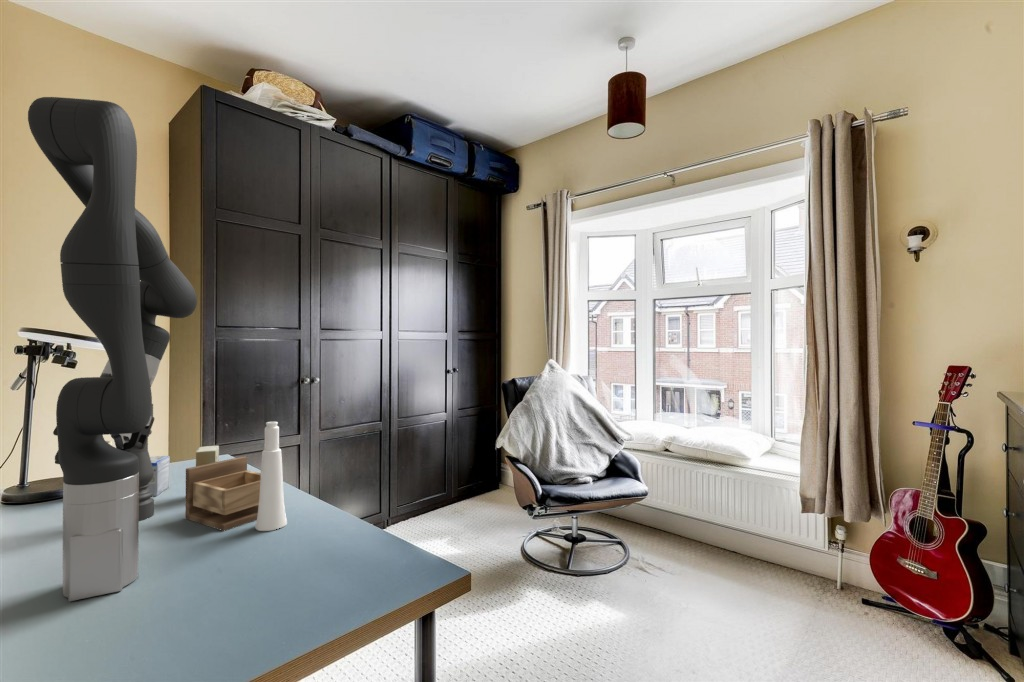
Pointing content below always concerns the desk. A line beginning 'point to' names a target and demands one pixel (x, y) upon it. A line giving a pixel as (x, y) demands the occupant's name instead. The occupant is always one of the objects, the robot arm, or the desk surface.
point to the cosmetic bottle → (271, 483)
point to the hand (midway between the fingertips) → (85, 468)
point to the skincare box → (207, 455)
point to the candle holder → (145, 481)
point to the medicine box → (159, 474)
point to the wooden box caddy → (222, 493)
